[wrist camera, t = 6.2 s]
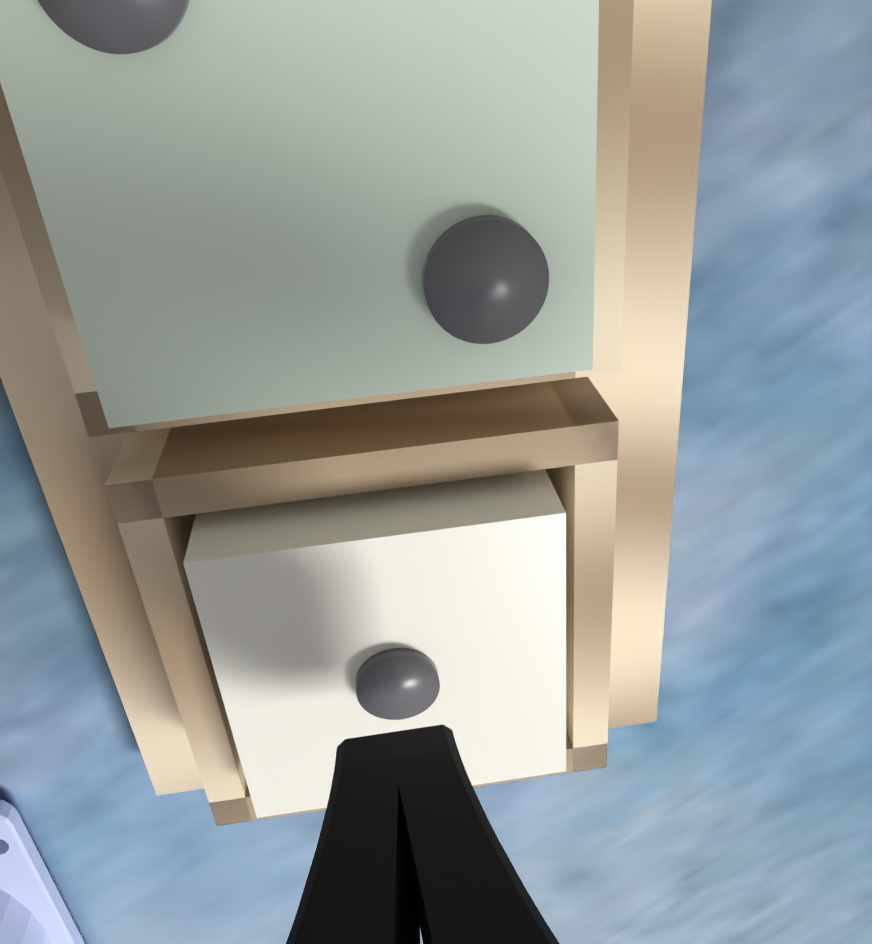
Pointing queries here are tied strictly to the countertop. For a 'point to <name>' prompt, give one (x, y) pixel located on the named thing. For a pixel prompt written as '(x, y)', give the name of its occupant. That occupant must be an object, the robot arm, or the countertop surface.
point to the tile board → (393, 436)
